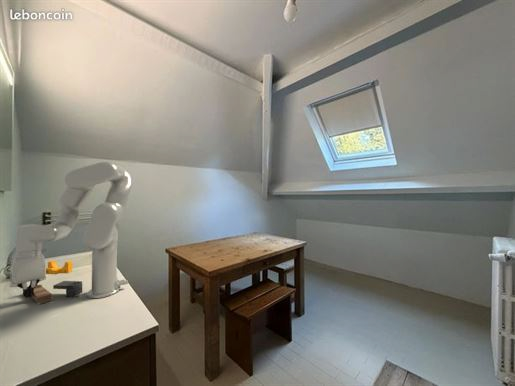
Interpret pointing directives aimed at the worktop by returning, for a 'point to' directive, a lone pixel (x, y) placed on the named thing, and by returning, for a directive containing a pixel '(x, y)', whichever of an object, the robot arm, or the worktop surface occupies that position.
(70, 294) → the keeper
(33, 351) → the worktop surface
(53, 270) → the pipe clamp
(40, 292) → the link
